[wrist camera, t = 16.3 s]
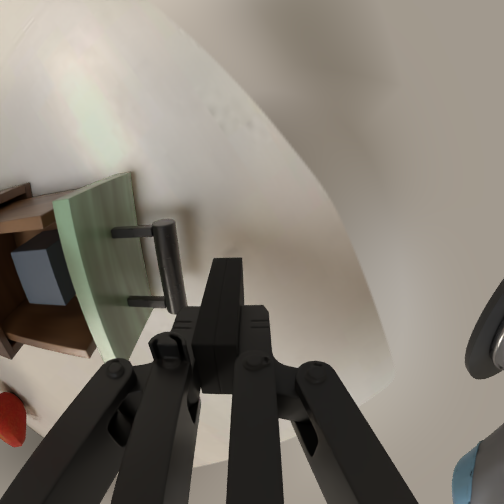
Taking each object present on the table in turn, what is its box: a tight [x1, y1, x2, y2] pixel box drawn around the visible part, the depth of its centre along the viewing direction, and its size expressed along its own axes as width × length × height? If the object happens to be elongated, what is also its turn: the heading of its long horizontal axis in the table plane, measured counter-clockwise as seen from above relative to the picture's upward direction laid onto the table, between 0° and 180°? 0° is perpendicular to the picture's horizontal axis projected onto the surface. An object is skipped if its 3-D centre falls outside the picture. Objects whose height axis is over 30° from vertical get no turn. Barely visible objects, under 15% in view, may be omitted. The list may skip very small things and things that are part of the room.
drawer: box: [0, 172, 188, 363], centre depth 17 cm, size 19×11×8 cm, turn 91°
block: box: [11, 229, 76, 306], centre depth 18 cm, size 4×4×4 cm
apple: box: [0, 392, 27, 447], centre depth 30 cm, size 11×11×12 cm
